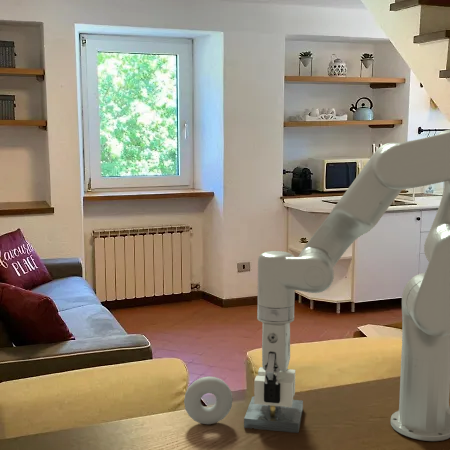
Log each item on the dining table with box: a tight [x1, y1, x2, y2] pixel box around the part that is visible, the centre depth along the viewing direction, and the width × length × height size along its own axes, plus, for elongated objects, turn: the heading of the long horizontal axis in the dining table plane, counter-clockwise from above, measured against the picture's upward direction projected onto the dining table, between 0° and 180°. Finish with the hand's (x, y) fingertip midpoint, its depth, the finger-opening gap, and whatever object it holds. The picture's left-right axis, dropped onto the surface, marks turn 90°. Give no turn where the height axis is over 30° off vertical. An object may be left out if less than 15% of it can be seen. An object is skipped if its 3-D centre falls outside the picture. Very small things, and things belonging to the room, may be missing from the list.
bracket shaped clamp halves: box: [253, 366, 296, 407], centre depth 131 cm, size 8×8×5 cm
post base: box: [243, 396, 304, 434], centre depth 131 cm, size 11×11×6 cm
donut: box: [183, 376, 234, 425], centre depth 129 cm, size 10×4×10 cm, turn 98°
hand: (274, 392), depth 131 cm, fingers open, 8 cm apart
